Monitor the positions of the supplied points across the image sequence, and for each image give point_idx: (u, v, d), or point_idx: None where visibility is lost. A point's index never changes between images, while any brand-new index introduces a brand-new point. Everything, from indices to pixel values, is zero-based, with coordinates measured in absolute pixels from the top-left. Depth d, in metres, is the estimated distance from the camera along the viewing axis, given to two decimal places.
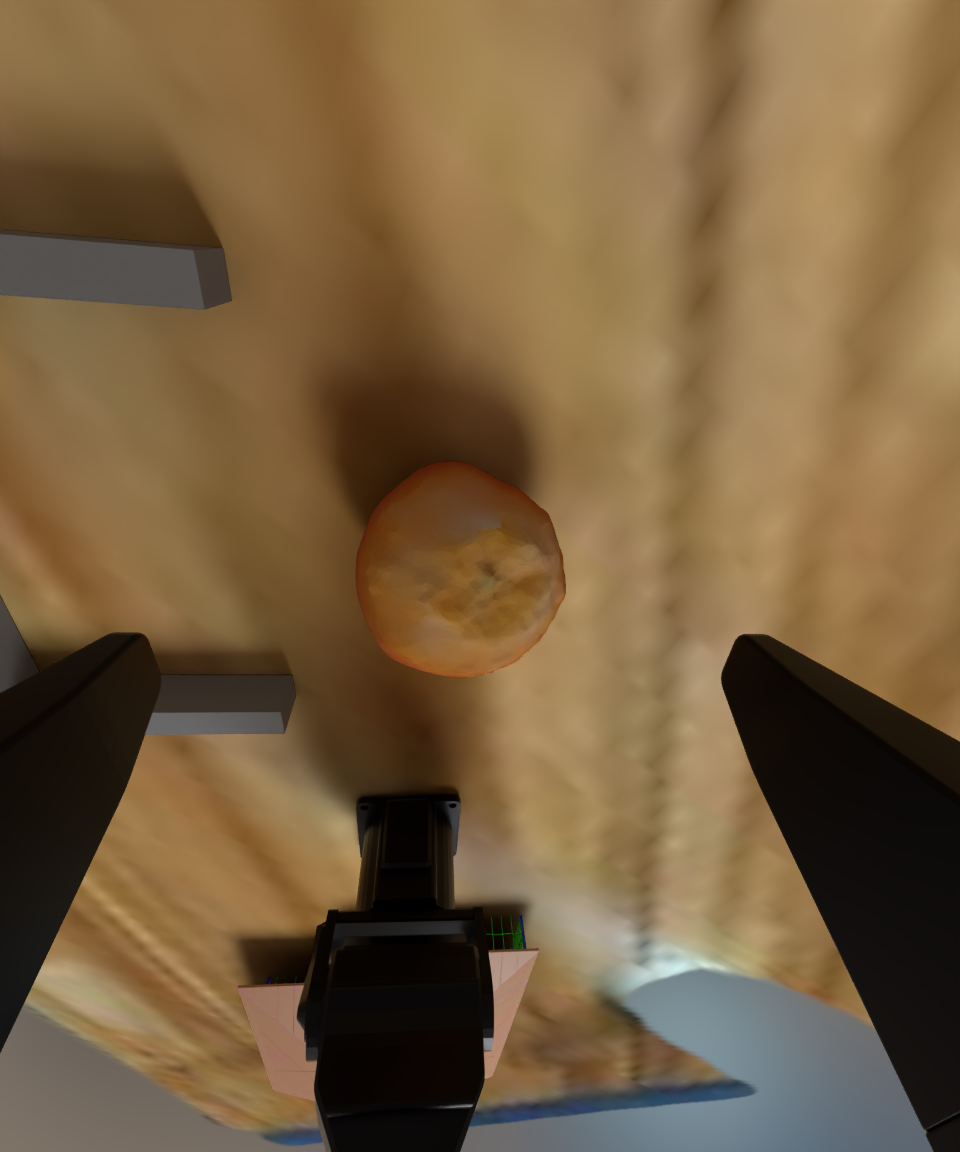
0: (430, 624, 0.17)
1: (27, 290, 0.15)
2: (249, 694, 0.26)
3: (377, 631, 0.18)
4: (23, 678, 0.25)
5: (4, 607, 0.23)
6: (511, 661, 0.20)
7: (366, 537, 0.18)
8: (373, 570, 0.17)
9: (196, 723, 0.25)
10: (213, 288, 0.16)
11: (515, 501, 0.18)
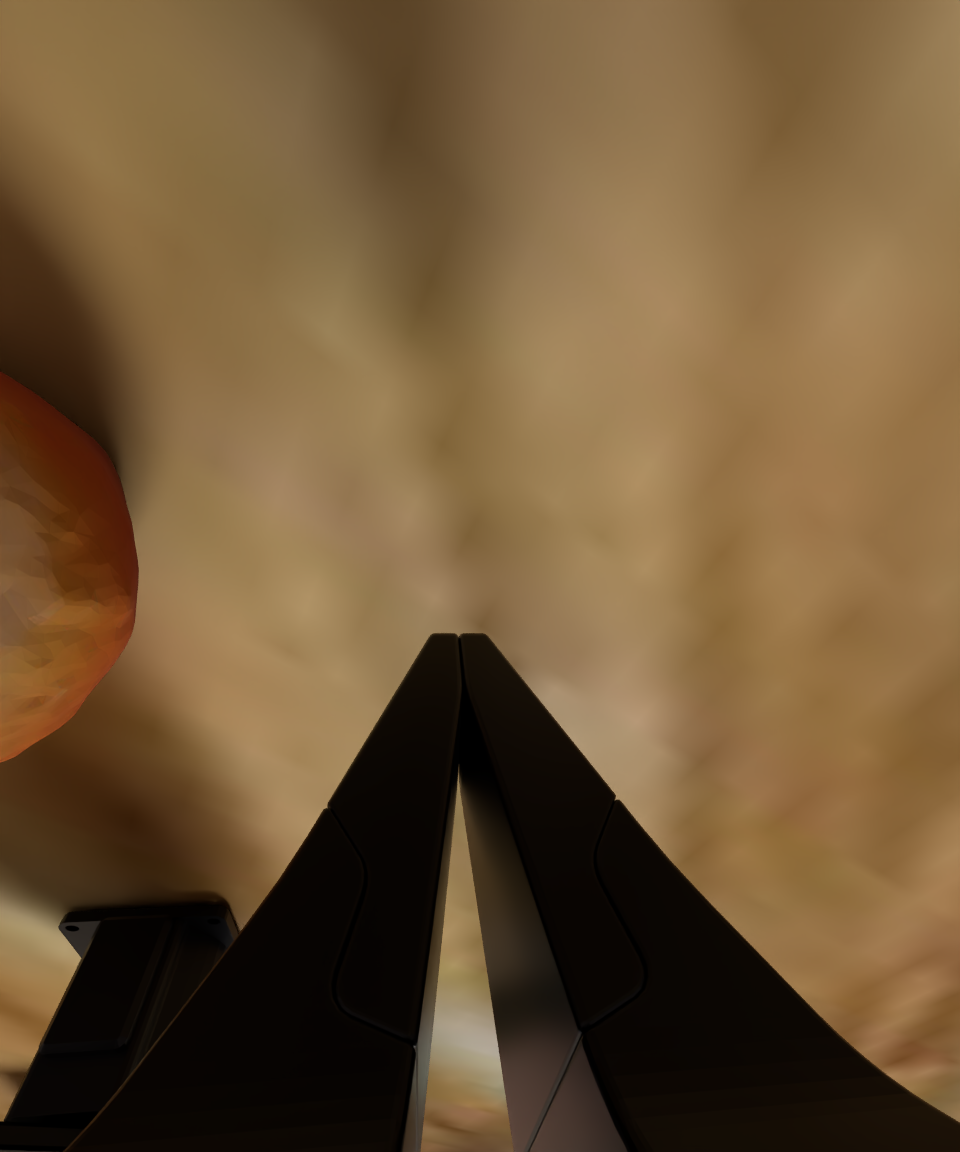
0: None
1: None
2: None
3: None
4: None
5: None
6: None
7: None
8: None
9: None
10: None
11: None
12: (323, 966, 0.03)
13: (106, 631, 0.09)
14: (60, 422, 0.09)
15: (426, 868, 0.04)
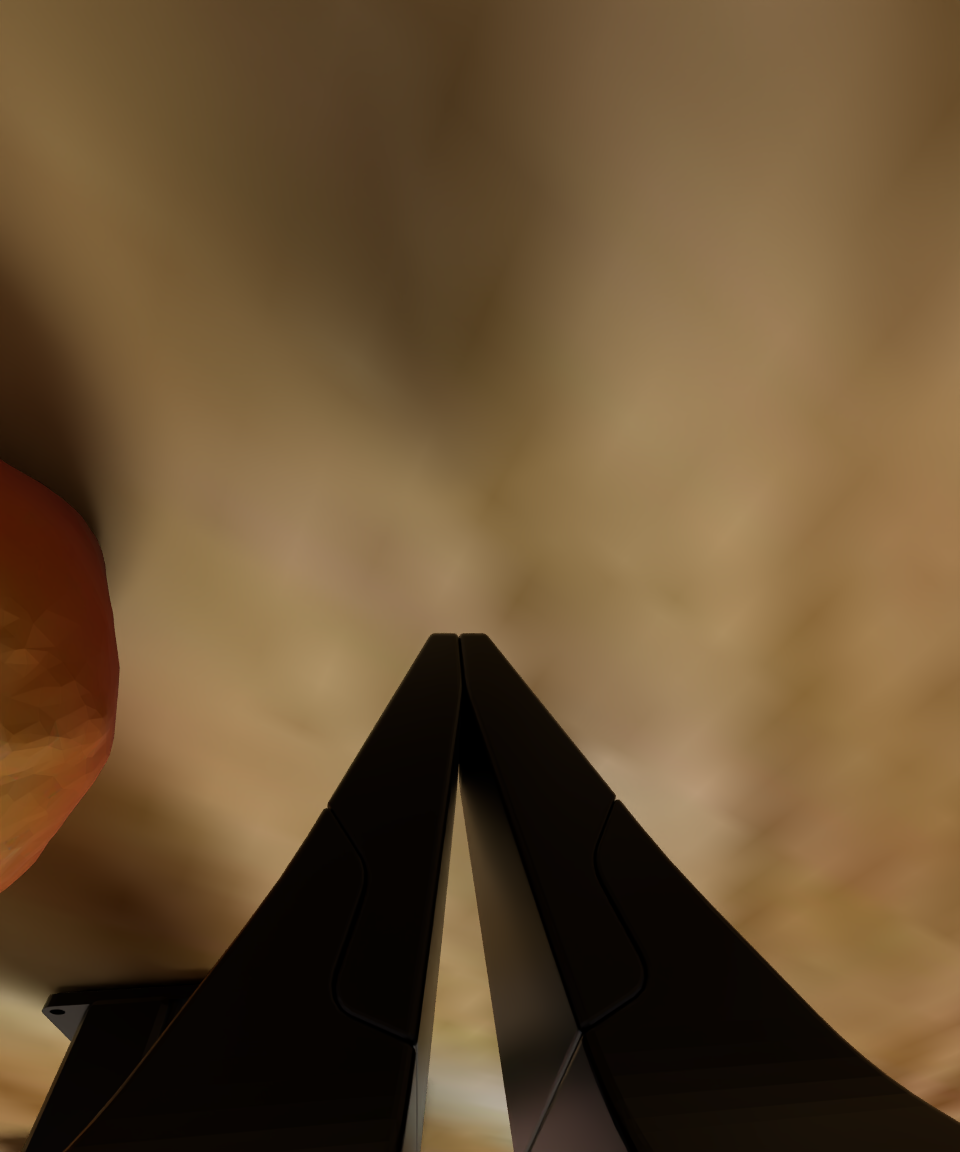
0: None
1: None
2: None
3: None
4: None
5: None
6: None
7: None
8: None
9: None
10: None
11: None
12: (322, 966, 0.03)
13: (73, 766, 0.07)
14: (12, 492, 0.07)
15: (426, 868, 0.04)
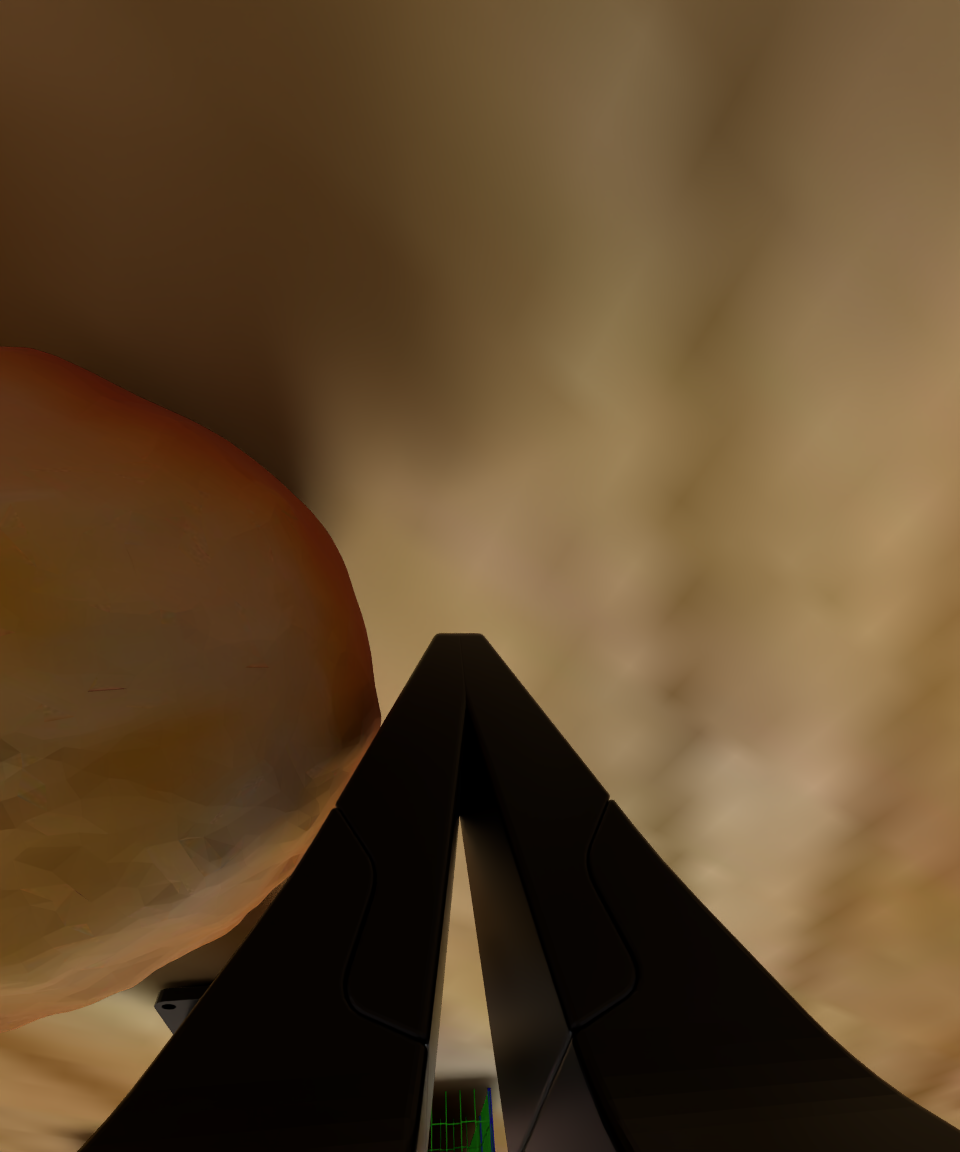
0: None
1: None
2: None
3: None
4: None
5: None
6: (200, 944, 0.07)
7: None
8: None
9: None
10: None
11: (126, 456, 0.05)
12: (334, 966, 0.03)
13: None
14: (301, 502, 0.07)
15: (435, 868, 0.04)
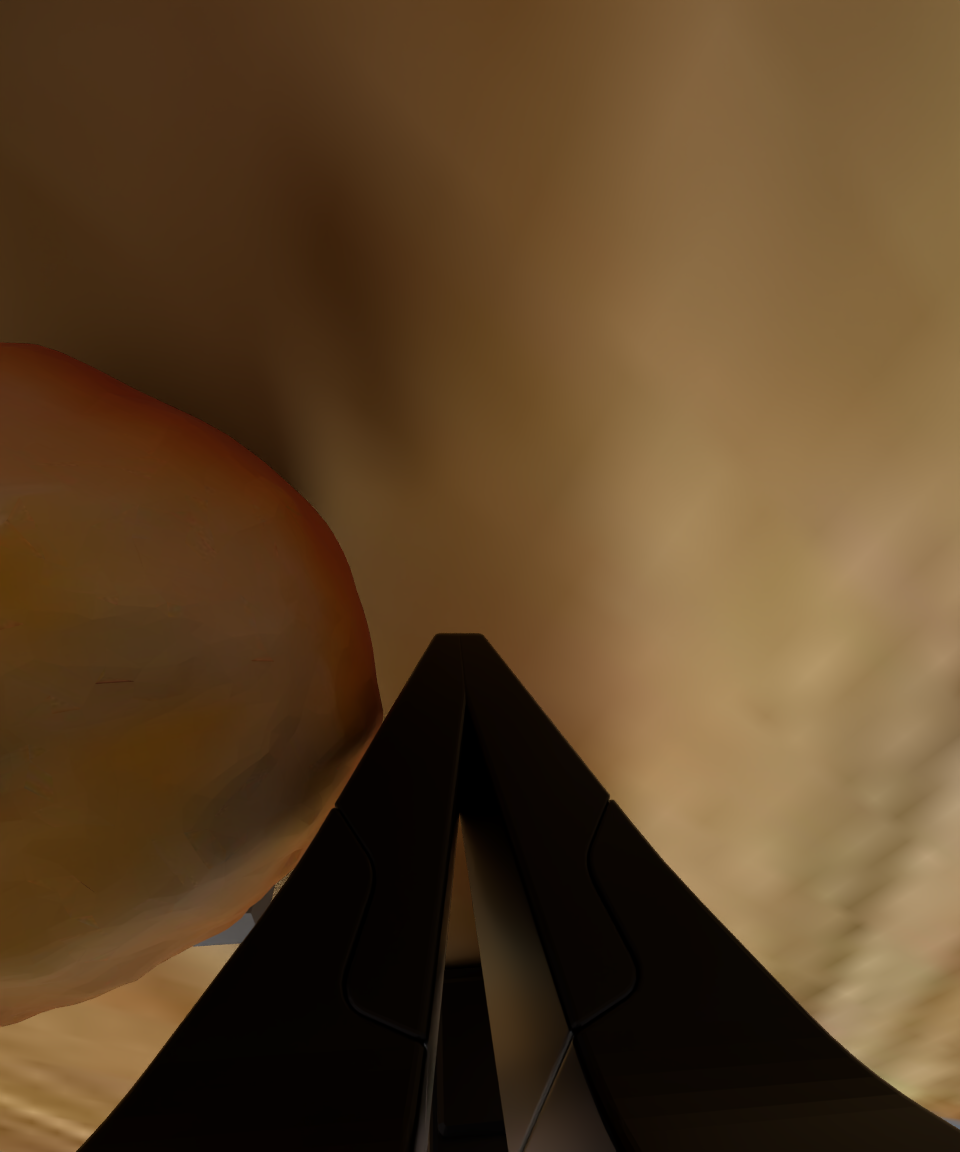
0: None
1: None
2: None
3: None
4: None
5: None
6: (203, 938, 0.07)
7: None
8: None
9: None
10: None
11: (131, 451, 0.05)
12: (333, 966, 0.03)
13: None
14: None
15: (434, 868, 0.04)
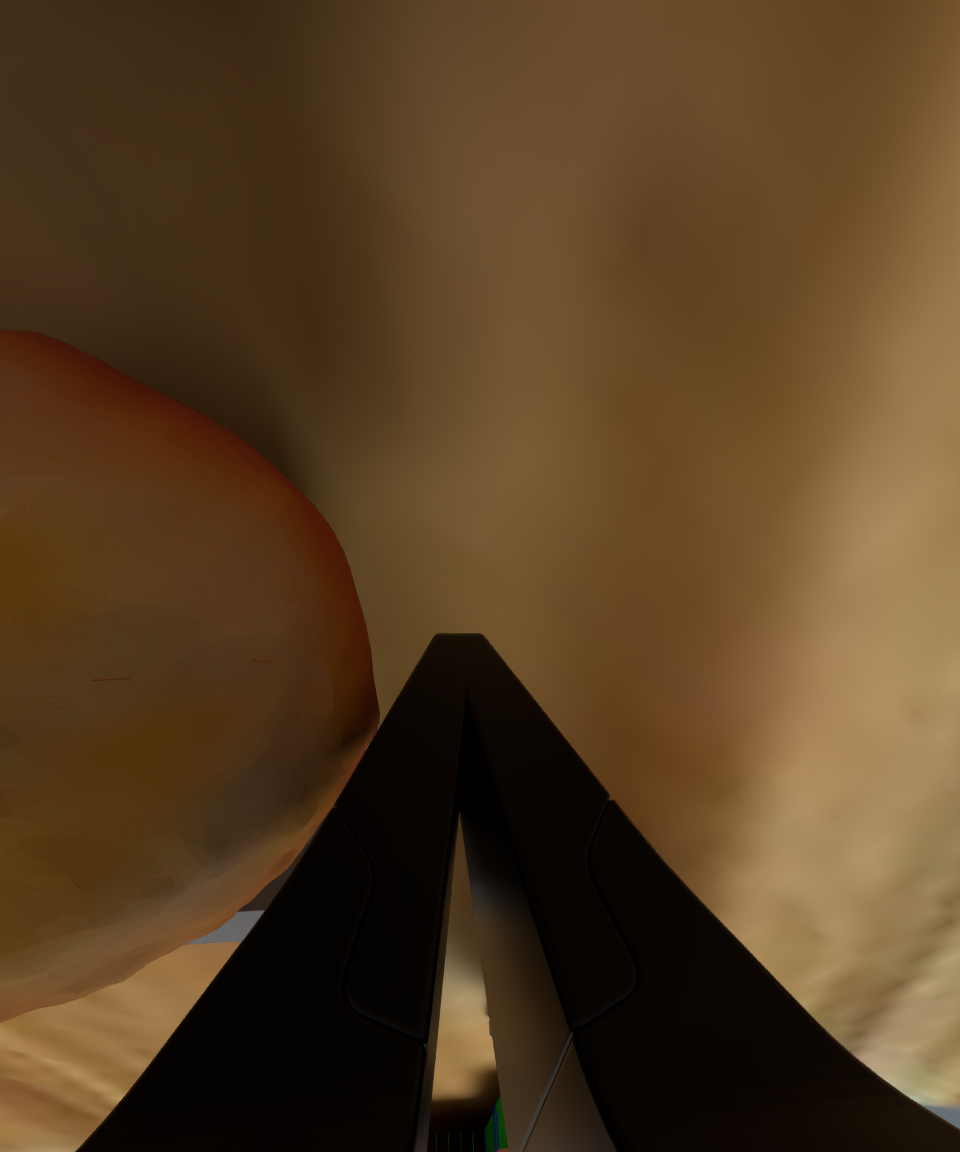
0: None
1: None
2: None
3: None
4: None
5: None
6: (192, 939, 0.07)
7: None
8: None
9: None
10: None
11: (134, 445, 0.05)
12: (333, 965, 0.03)
13: (356, 760, 0.07)
14: (305, 497, 0.07)
15: (434, 868, 0.04)
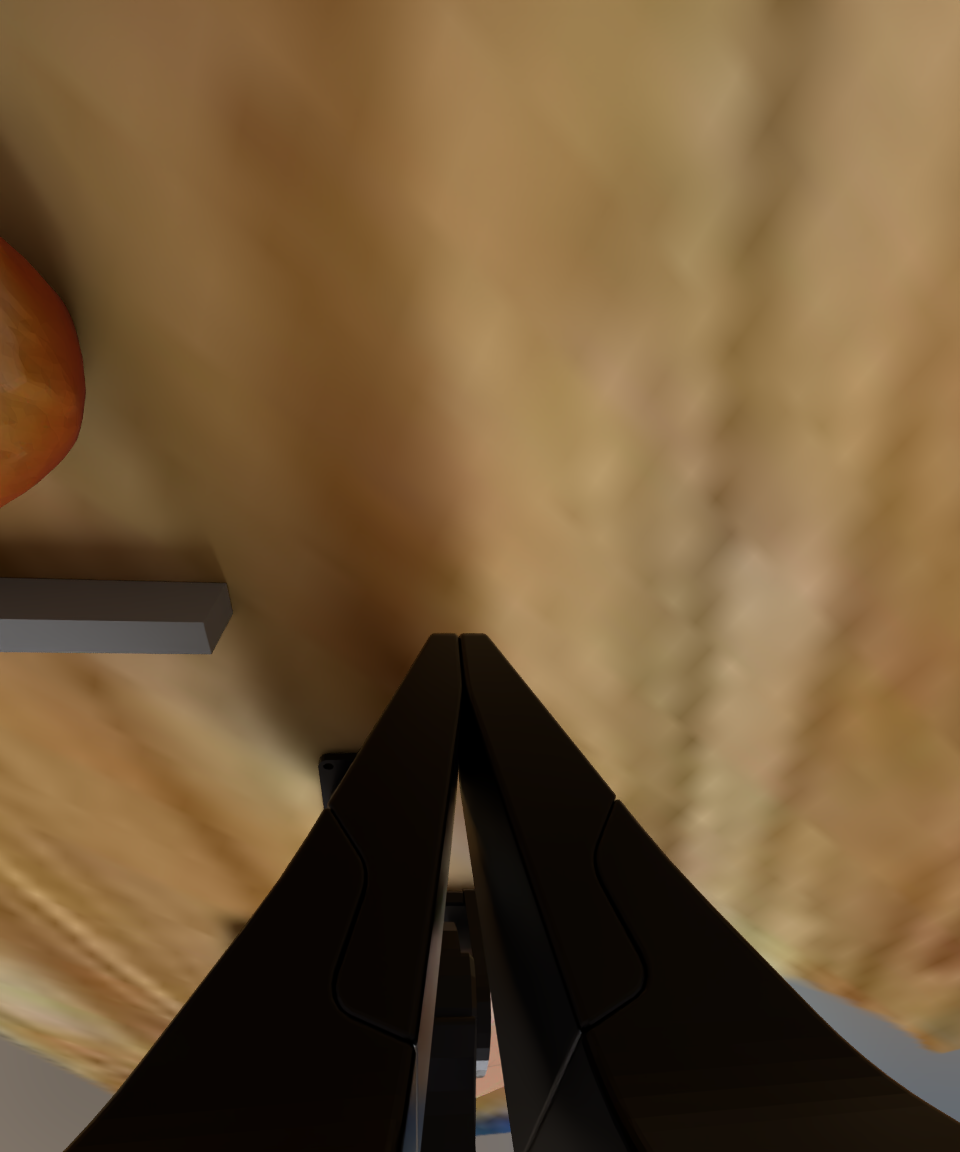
0: None
1: None
2: (165, 602, 0.19)
3: None
4: None
5: None
6: None
7: None
8: None
9: (90, 637, 0.19)
10: None
11: None
12: (322, 966, 0.03)
13: (57, 416, 0.13)
14: (29, 265, 0.13)
15: (426, 868, 0.04)
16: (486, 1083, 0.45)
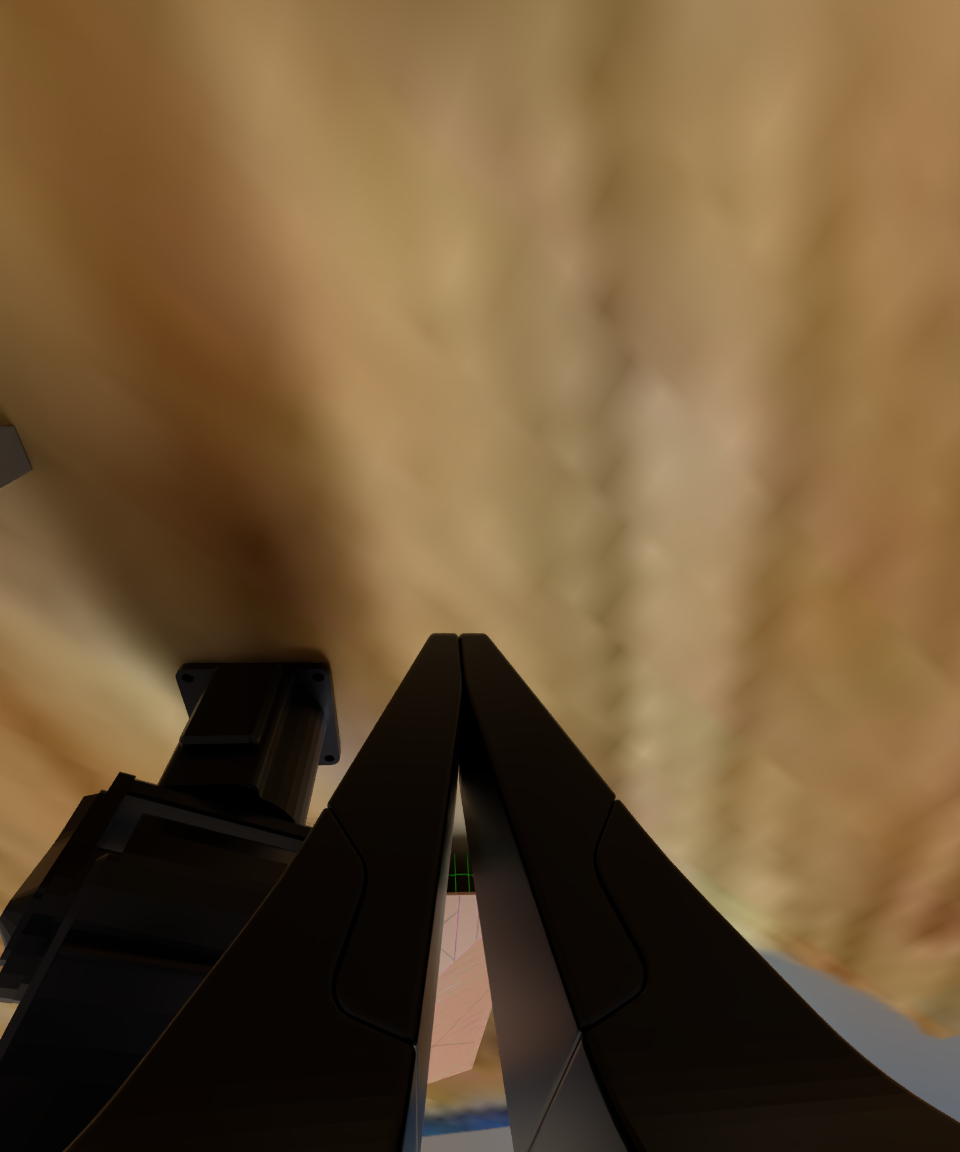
0: None
1: None
2: None
3: None
4: None
5: None
6: None
7: None
8: None
9: None
10: None
11: None
12: (323, 966, 0.03)
13: None
14: None
15: (426, 868, 0.04)
16: (438, 1066, 0.41)
